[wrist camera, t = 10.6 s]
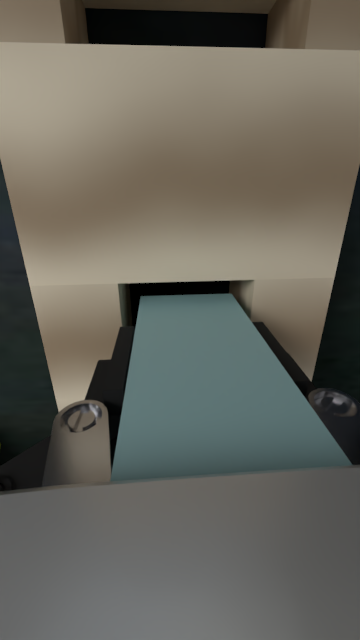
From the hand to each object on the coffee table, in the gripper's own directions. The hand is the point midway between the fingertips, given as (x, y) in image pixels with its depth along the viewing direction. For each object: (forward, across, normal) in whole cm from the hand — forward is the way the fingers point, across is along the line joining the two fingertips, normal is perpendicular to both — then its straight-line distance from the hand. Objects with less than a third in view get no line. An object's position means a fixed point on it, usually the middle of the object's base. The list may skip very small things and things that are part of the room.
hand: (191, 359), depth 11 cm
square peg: (+2, 0, 0) cm, 2 cm away
